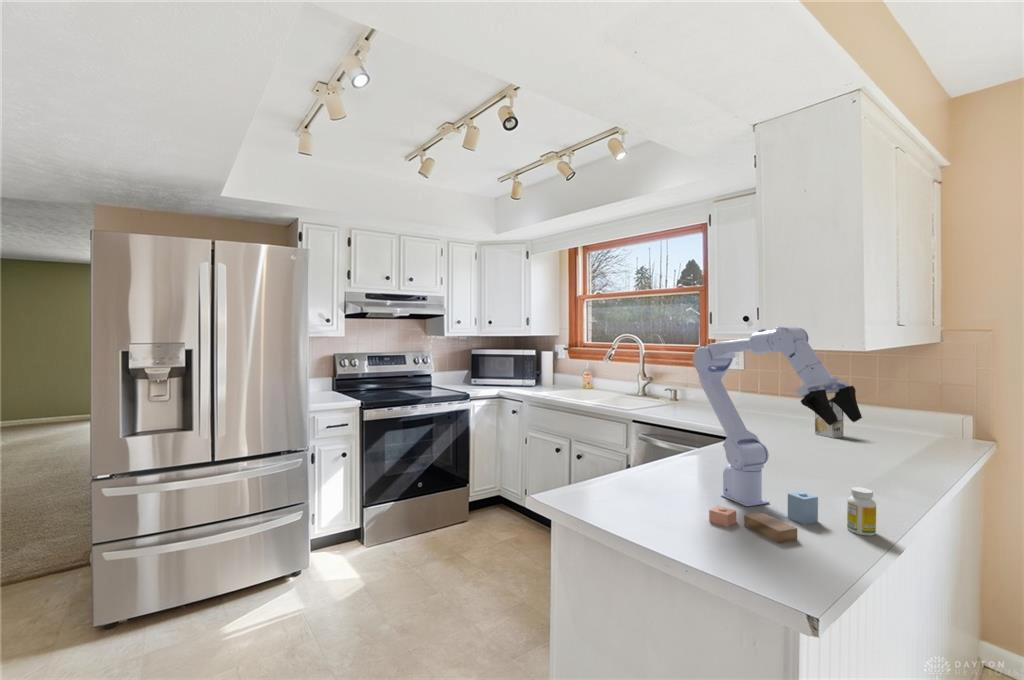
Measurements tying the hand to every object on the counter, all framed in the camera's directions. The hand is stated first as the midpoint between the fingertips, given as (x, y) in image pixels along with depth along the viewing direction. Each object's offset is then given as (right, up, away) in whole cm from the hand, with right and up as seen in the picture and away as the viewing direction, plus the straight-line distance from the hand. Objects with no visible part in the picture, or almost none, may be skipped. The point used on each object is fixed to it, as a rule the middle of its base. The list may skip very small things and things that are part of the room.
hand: (845, 421), depth 107 cm
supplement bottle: (+6, -26, +4) cm, 27 cm away
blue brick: (-3, -26, +11) cm, 28 cm away
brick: (-23, -26, +10) cm, 36 cm away
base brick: (-15, -26, +4) cm, 30 cm away
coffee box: (+65, -24, +105) cm, 126 cm away
